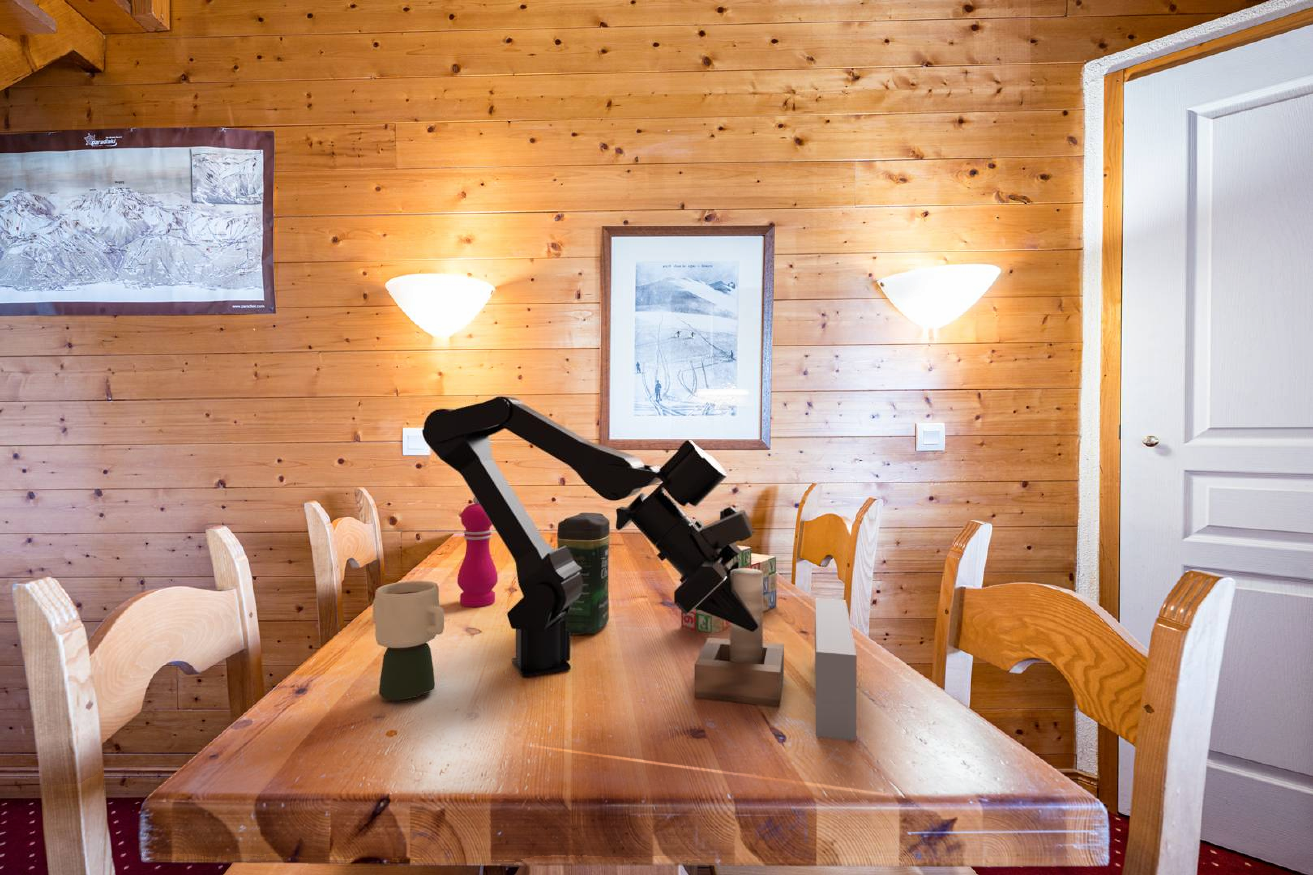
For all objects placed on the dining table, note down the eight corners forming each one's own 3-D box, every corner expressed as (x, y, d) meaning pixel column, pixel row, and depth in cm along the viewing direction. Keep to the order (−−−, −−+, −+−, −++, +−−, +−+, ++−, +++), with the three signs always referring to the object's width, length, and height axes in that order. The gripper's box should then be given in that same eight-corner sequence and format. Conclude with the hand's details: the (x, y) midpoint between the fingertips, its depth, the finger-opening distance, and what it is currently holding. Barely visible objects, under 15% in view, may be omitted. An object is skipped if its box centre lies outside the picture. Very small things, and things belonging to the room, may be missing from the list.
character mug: (463, 691, 76) (463, 585, 76) (419, 715, 70) (420, 599, 70) (396, 676, 81) (397, 576, 81) (349, 698, 74) (350, 589, 74)
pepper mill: (482, 595, 121) (482, 492, 121) (505, 602, 117) (506, 495, 117) (449, 603, 116) (449, 495, 116) (472, 610, 111) (472, 498, 111)
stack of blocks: (747, 600, 119) (748, 536, 119) (777, 606, 115) (777, 539, 115) (680, 627, 103) (680, 552, 102) (712, 635, 99) (712, 557, 98)
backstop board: (815, 737, 65) (816, 651, 65) (815, 662, 87) (815, 597, 87) (856, 742, 64) (856, 655, 64) (845, 665, 86) (845, 599, 86)
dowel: (755, 684, 75) (756, 576, 75) (725, 678, 77) (725, 573, 77) (766, 673, 79) (767, 570, 79) (737, 667, 81) (737, 567, 81)
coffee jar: (598, 638, 97) (598, 518, 96) (549, 634, 98) (550, 516, 98) (614, 619, 106) (615, 510, 106) (570, 616, 108) (570, 509, 107)
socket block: (694, 697, 74) (694, 664, 74) (707, 667, 84) (708, 637, 84) (779, 706, 72) (780, 672, 72) (783, 674, 82) (783, 644, 82)
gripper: (702, 495, 70) (803, 600, 67) (725, 482, 88) (805, 565, 85) (634, 561, 72) (730, 666, 69) (670, 535, 90) (747, 618, 87)
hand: (757, 623), depth 78 cm, fingers closed on dowel, 4 cm apart
